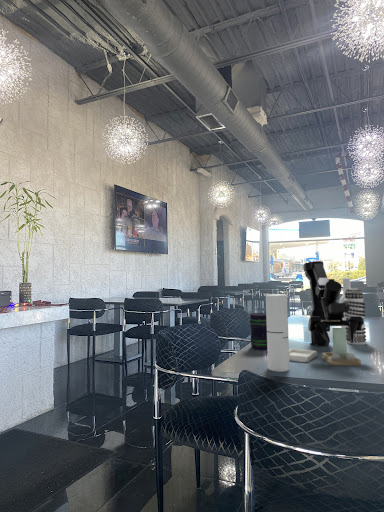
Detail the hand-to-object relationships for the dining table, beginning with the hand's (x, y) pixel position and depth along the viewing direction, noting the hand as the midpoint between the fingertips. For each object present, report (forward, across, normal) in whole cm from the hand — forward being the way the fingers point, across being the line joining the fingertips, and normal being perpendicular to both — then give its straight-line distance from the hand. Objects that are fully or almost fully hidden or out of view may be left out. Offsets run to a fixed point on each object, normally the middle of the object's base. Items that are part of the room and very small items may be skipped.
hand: (340, 342), depth 125 cm
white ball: (+6, -2, +3) cm, 7 cm away
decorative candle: (-22, +17, +32) cm, 43 cm away
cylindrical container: (+12, -23, -2) cm, 26 cm away
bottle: (-32, +18, +42) cm, 56 cm away
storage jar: (-12, -26, +23) cm, 37 cm away
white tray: (0, -14, +10) cm, 17 cm away
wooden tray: (+4, 0, +6) cm, 7 cm away
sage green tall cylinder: (+4, 0, +6) cm, 7 cm away
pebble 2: (+6, +2, +3) cm, 7 cm away
